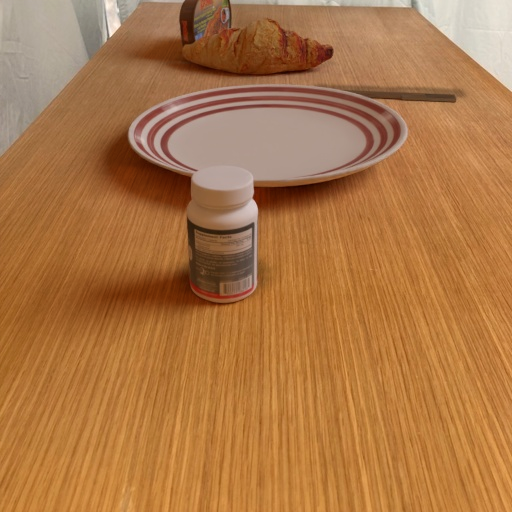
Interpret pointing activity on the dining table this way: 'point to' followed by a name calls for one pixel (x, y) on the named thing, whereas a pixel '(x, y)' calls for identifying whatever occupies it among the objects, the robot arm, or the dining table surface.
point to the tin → (203, 19)
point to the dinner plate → (269, 132)
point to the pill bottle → (222, 234)
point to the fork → (406, 95)
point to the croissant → (257, 50)
